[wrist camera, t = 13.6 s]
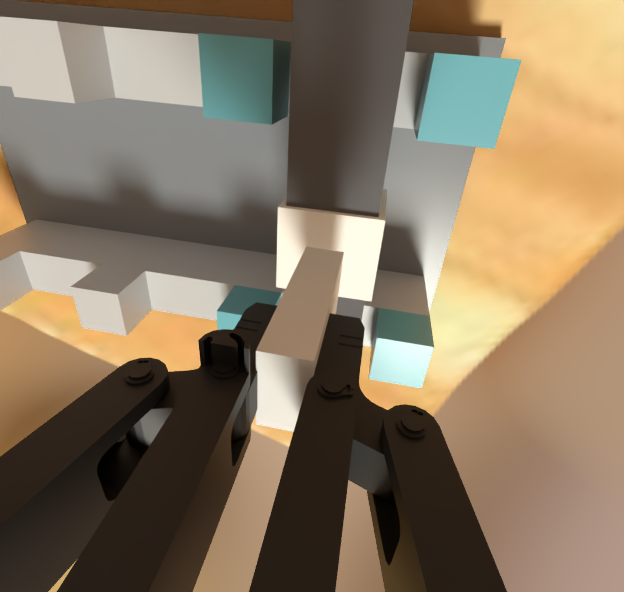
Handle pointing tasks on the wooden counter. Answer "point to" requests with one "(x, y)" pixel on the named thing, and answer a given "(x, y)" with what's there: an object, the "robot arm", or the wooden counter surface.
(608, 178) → the wooden counter surface
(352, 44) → the grey banded pillar
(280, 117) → the grey peg rack
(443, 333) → the wooden counter surface
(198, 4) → the wooden counter surface
